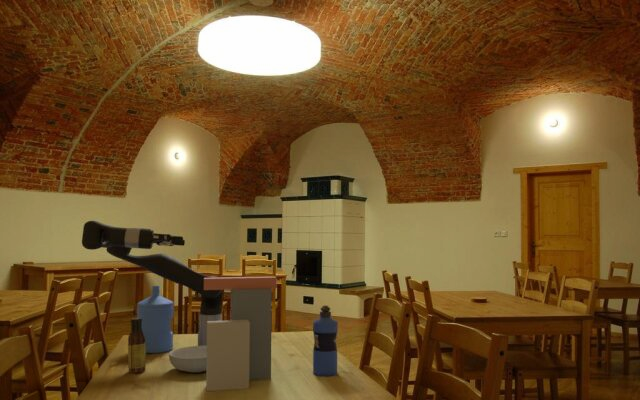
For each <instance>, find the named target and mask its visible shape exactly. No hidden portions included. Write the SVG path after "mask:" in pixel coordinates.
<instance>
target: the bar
mask: <svg viewBox="0 0 640 400" xmlns="http://www.w3.org/2000/svg"><path fill="white" fill-rule="evenodd" d="M231 289H272V290H273V289H277V277H276V276H230V277H229V276H227V277H224V276H222V277H218V278H204V290H223V291H224V290H230V291H231Z"/></svg>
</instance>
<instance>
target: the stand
mask: <svg viewBox="0 0 640 400" xmlns="http://www.w3.org/2000/svg"><path fill="white" fill-rule="evenodd" d="M272 291H273V288H272V289H230V320H222V321H207V365H206V371H205V372H206V376H205V377H206V379H205V380H206V381H205V383H206V385H205V388H206V392H213V391H214V392H215V391H230V390H244V389H250V381H253V380H254V381H255V380H270V379H272V319H273V318H272V316H273V315H272V308H273V307H272V299H273V297H272V295H273V294H272V293H273V292H272Z"/></svg>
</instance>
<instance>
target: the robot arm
mask: <svg viewBox="0 0 640 400" xmlns="http://www.w3.org/2000/svg"><path fill="white" fill-rule="evenodd" d="M82 230H83V231H82V237H81V244H82V247H83V248H84V249H86V250H98V249H102V248H105V249H106V252H107V254H109V255H111V256H113V257H115V258H117V259H120V260H122V261H125V262H128V263H131V264H133V265H136V266H138V267H140V268H142V269H144V270H147V271H149V272H150V273H152V274H154V275H157V276H159V277H161V278H163V279H165V280H168V281H171V282H173V283H176V284H179V285H182V286H185V287H186V288H188V289H191V290H192V291H194V292H196V293H197V294H199V295H201V296H200V297H201V299H200V300H201V302H200V307H199V330H198V331H197V346H207V321H223V316H222V315H223V302H224V301H223V300H224V290H204V278H219V276H216V275H205V274H203V273H200V272H198V271H195V270H194V269H192V268H190V267H188V266H187V265H186V264H184V263H183V262H182V261H180V260H178V259H176V258H174V257H173V256H170V255H168V254H166V253H154V254H149V255H147V254H146V255H132V254H130V253H131V250H132V249H141V250H143V249H144V250H151V249H152V248H153V246H154V244H156V245H157V246H159V247H161V246H164V247H165V246H166V247H174V246H183V247H184V246H185V245H186V244H185V242H186V241H185V239H184V237H183V236H178V235H172V234H169V233H168V234H167V233H155V232H154V229H152V228H142V227H141V228H140V227H120V226H119V227H118V226H112V225H108V224H105V223H102V222H100V221H97V220H89V221H86V222H85V223H84V225H83V229H82Z"/></svg>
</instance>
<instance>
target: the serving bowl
mask: <svg viewBox="0 0 640 400" xmlns="http://www.w3.org/2000/svg"><path fill="white" fill-rule="evenodd" d="M168 358H169V362H170V364H171V366H172V367H174V368H175V369H176V370H179V371H183V372H187V373H192V374H193V373H194V374H195V373H204V372H206V365H207V346H198V345H193V346H192V345H191V346H185V347H180V348H176V349H172V350H170V351H169V353H168Z"/></svg>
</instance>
